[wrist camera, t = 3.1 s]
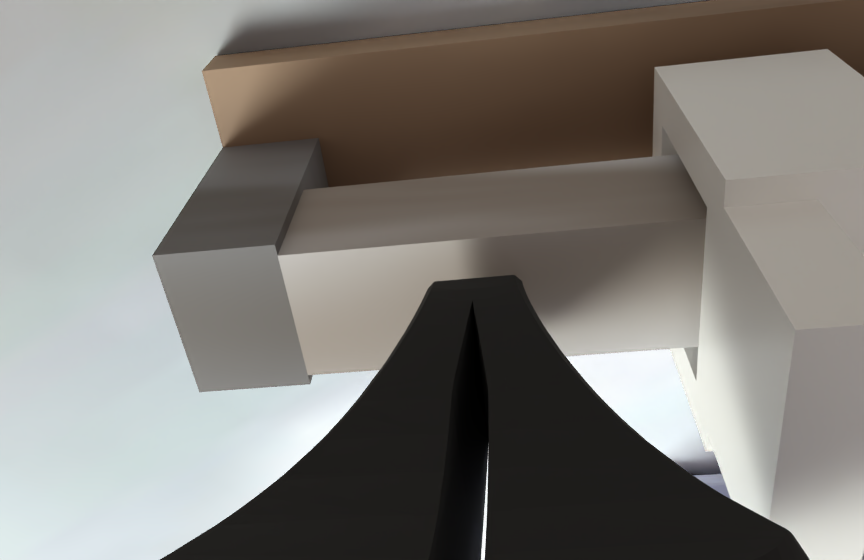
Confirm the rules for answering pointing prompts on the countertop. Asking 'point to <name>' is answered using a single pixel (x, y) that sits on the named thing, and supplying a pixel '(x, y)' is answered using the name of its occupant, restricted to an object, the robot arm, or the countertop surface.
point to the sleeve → (778, 283)
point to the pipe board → (507, 85)
